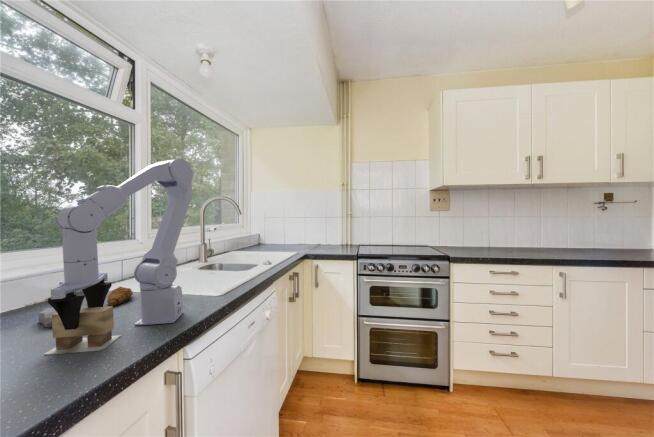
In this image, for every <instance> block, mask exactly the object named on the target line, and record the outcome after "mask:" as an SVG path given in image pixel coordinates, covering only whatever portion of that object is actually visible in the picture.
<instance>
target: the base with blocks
mask: <svg viewBox="0 0 654 437" xmlns="http://www.w3.org/2000/svg"><path fill="white" fill-rule="evenodd" d="M86 336H87V337H84V336H73V337H61V338H55V347H54V348H52V349H49V351H46V352H45V353H43V356H48V355H51V356H53V355H61V354H63V355H64V354H72V353H73V354H74V353H85V352H86V353H89V352H95V351H96V352H97V351H99V352H100V351H104V350H105V349H106V348H108V347H109V346H110V345H112V344H113V343H114V342H115V341H117V340H118V339H119V338H121V337H122V335H121V334H118V335H113V334H112V330H110V331H109V332H107V333H106V334H99V335H86Z"/></svg>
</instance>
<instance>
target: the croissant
mask: <svg viewBox="0 0 654 437" xmlns="http://www.w3.org/2000/svg"><path fill="white" fill-rule="evenodd" d="M133 294H134V293H133V291H132V288H130V287H129V288H128V287H124V286H118V287H116V288H115V289H112V290H111V292H110V293H109V295H108V296H107V300H106V301H107V304H108V307H110V306H113V307H117V306H119V305H121V304H124V303H125V302H127V301H128V300H130V299H131V297H132V296H133Z"/></svg>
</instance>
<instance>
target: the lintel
mask: <svg viewBox="0 0 654 437" xmlns="http://www.w3.org/2000/svg"><path fill="white" fill-rule="evenodd" d="M114 325H115V324H114V306H103V307H95V308H81V309H80V320H79V326H78V328H77V329H72V330H65V328H64V326H63V324H62V321H61V319H60V317H59V315H58V313H54V314H52V327H51V329H52V338H53V339H56V338H61V337H73V336H82V337H84V336H85V337H86V336H88V335H99V334H106V333H107V332H109V331H110V330H111V331H112V330H113V329H115V328H114V327H115V326H114Z"/></svg>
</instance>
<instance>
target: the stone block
mask: <svg viewBox="0 0 654 437" xmlns="http://www.w3.org/2000/svg"><path fill="white" fill-rule="evenodd" d="M81 308H88V306H87V301H86V298H84V300H83V302H82V305H81ZM54 313H57V312H56V311H55V309H54V308H53V307H46V308H44V309H43V310H41V311H40V312H39V313H38V322H39V323H40V324H41V325H43V326H44V328H50V327H51V328H52V314H54Z"/></svg>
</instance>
